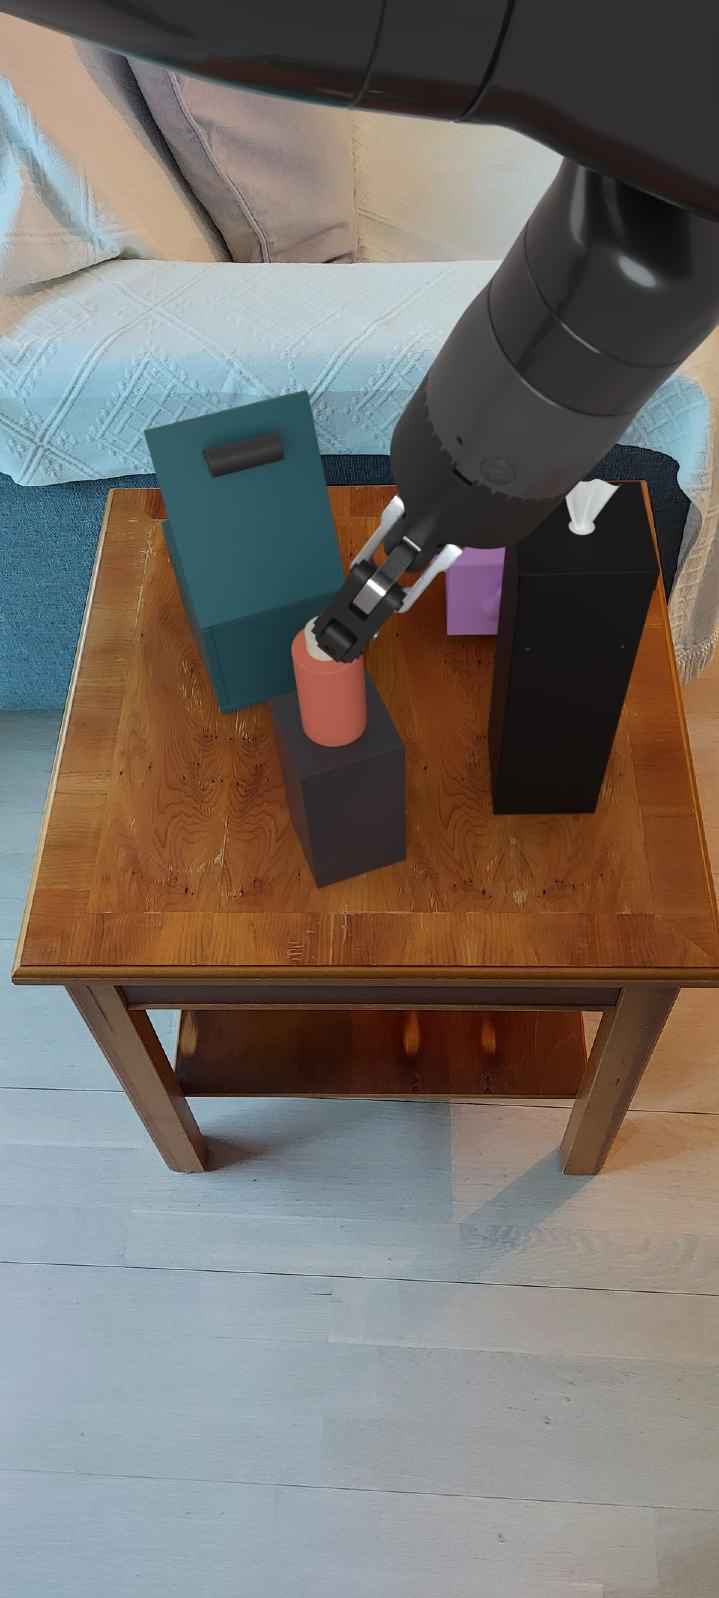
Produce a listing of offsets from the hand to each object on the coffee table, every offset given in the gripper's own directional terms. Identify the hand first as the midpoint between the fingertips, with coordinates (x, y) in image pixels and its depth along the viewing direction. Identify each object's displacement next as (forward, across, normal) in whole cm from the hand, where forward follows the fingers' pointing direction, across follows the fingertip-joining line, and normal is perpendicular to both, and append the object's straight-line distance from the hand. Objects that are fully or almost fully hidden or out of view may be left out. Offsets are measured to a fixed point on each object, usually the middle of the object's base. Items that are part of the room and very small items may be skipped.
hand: (375, 595), depth 54 cm
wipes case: (+33, -11, -6) cm, 35 cm away
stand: (+24, +2, +9) cm, 26 cm away
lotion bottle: (+12, +2, +3) cm, 12 cm away
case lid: (+17, -10, -11) cm, 23 cm away
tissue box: (+20, -10, +18) cm, 29 cm away
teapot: (+27, -25, +8) cm, 38 cm away
